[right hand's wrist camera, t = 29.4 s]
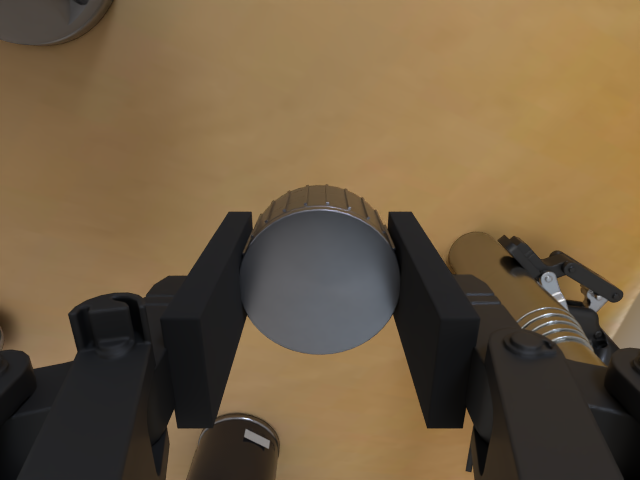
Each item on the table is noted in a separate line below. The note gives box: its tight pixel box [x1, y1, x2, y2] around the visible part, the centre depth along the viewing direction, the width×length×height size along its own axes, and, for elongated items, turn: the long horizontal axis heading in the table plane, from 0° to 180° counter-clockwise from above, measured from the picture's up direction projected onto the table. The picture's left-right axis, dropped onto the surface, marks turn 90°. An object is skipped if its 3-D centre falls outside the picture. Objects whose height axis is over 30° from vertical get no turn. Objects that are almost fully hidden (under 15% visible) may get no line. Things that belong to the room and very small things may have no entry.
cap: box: [239, 184, 401, 355], centre depth 13 cm, size 5×5×3 cm
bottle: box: [449, 232, 607, 367], centre depth 32 cm, size 5×5×19 cm
